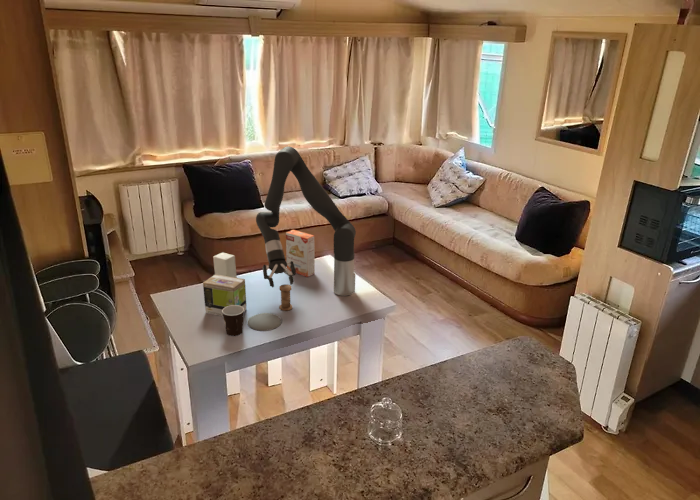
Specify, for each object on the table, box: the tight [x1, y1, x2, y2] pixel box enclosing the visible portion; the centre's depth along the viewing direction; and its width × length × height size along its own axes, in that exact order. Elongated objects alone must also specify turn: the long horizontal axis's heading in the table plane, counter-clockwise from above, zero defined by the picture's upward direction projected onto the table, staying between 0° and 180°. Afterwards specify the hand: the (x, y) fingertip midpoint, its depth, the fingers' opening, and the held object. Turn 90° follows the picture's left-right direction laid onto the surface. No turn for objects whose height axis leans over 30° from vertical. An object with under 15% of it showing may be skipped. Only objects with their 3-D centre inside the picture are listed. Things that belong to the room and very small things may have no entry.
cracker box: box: [285, 229, 316, 278], centre depth 270 cm, size 14×6×21 cm, turn 55°
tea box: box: [202, 273, 247, 317], centre depth 231 cm, size 15×10×15 cm
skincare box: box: [212, 251, 238, 278], centre depth 254 cm, size 8×7×16 cm
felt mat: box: [247, 312, 282, 332], centre depth 226 cm, size 14×14×1 cm
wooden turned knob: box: [278, 284, 293, 312], centre depth 236 cm, size 6×6×10 cm
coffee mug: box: [222, 305, 245, 337], centre depth 215 cm, size 12×9×10 cm
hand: (282, 285), depth 238 cm, fingers open, 8 cm apart
